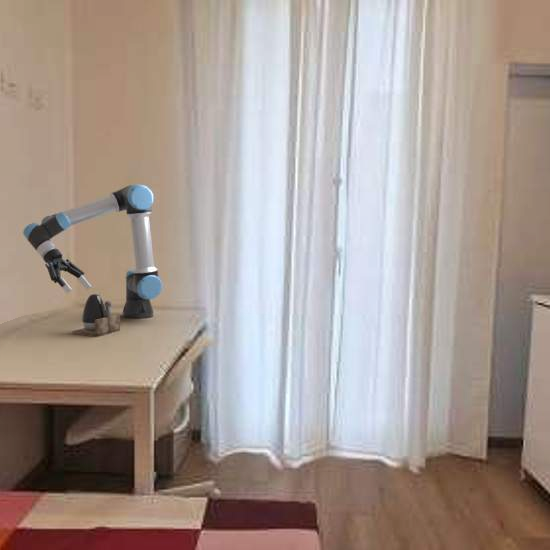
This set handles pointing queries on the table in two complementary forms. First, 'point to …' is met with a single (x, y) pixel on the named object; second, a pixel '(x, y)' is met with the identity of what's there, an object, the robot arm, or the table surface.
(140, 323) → the table surface
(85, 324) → the pump dispenser
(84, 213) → the robot arm
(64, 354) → the table surface
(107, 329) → the stand
